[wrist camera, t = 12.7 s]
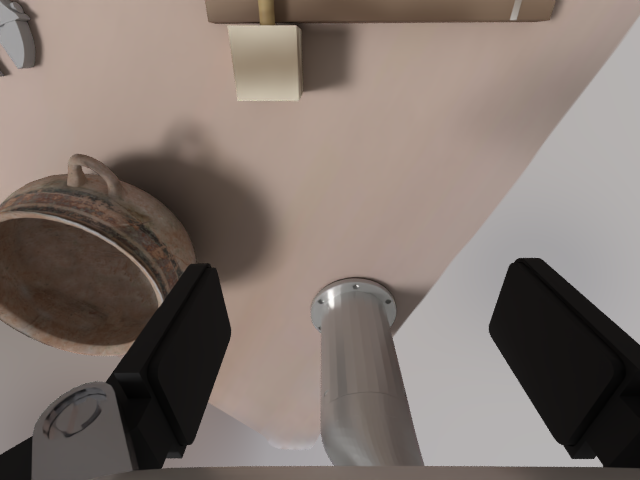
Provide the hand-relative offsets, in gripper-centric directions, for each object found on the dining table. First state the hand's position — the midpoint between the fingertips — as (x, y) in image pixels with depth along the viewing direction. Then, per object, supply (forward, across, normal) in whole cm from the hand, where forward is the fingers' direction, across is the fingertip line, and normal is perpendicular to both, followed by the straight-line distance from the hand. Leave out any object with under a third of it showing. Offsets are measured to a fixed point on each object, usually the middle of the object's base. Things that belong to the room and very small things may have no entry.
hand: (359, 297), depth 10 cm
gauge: (+25, +6, -10) cm, 27 cm away
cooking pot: (+26, +25, +10) cm, 37 cm away
